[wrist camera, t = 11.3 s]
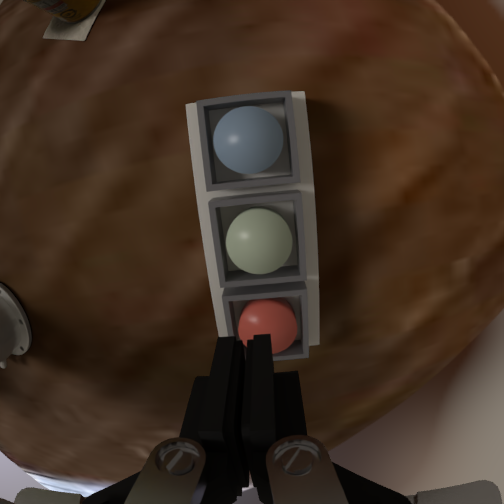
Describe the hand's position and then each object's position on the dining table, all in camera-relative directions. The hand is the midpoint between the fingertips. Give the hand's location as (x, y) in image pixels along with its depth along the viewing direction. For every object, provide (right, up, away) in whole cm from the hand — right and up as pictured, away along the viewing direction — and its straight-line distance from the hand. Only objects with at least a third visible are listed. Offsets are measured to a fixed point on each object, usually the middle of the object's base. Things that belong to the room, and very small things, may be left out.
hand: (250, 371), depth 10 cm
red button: (+1, -2, +19) cm, 19 cm away
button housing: (+1, +6, +20) cm, 21 cm away
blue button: (0, +13, +14) cm, 19 cm away
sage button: (+1, +5, +16) cm, 17 cm away
